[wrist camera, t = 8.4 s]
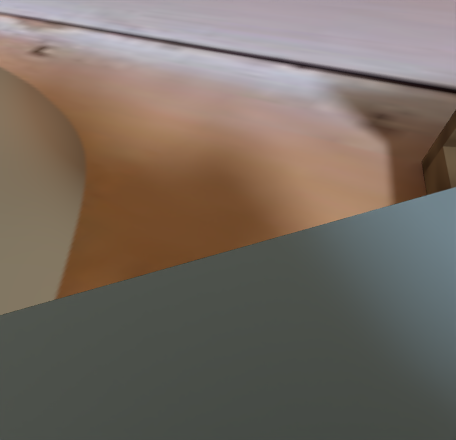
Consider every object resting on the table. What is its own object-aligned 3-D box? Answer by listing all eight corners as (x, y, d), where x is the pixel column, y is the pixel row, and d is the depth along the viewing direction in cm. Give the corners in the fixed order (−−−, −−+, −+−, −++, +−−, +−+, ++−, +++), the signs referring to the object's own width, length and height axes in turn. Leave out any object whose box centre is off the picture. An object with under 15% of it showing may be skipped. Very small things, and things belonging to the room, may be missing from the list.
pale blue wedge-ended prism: (351, 435, 13) (909, 557, 2) (204, 484, 13) (-208, 1021, 1) (320, 357, 15) (528, 166, 3) (187, 398, 14) (-72, 335, 3)
